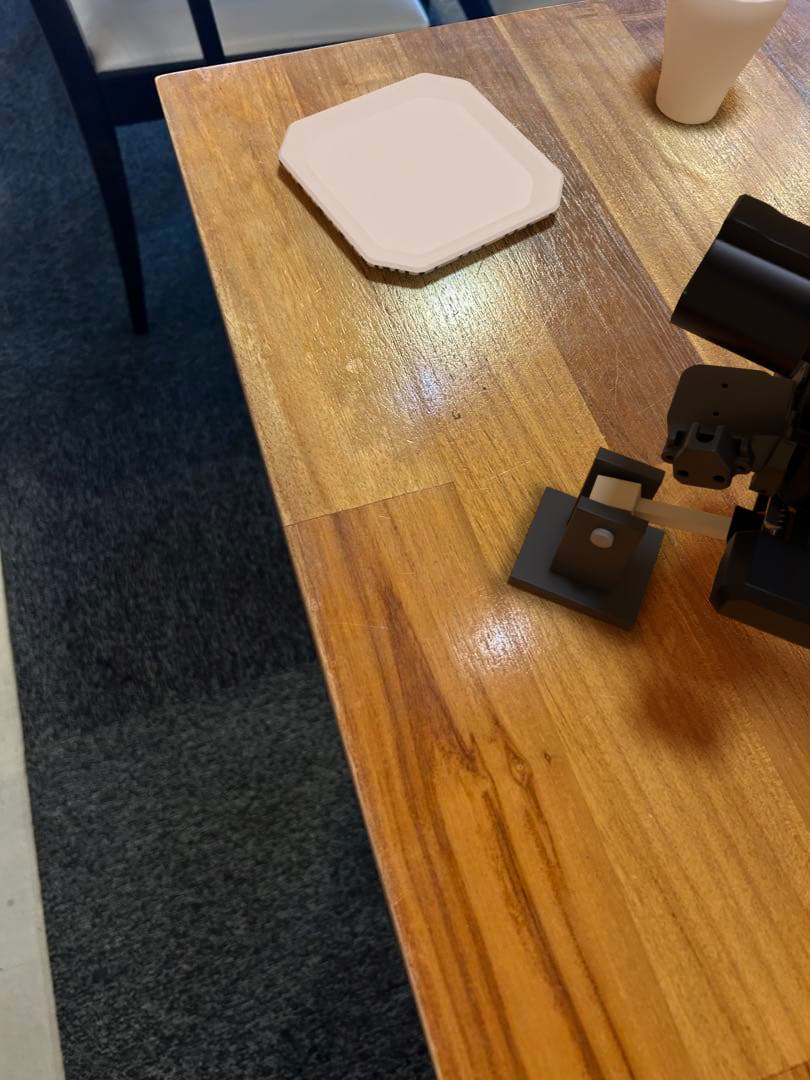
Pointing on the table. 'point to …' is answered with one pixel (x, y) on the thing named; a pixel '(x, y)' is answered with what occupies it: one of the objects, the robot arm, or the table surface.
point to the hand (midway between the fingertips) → (748, 551)
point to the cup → (709, 52)
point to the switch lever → (658, 509)
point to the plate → (420, 173)
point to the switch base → (593, 546)
